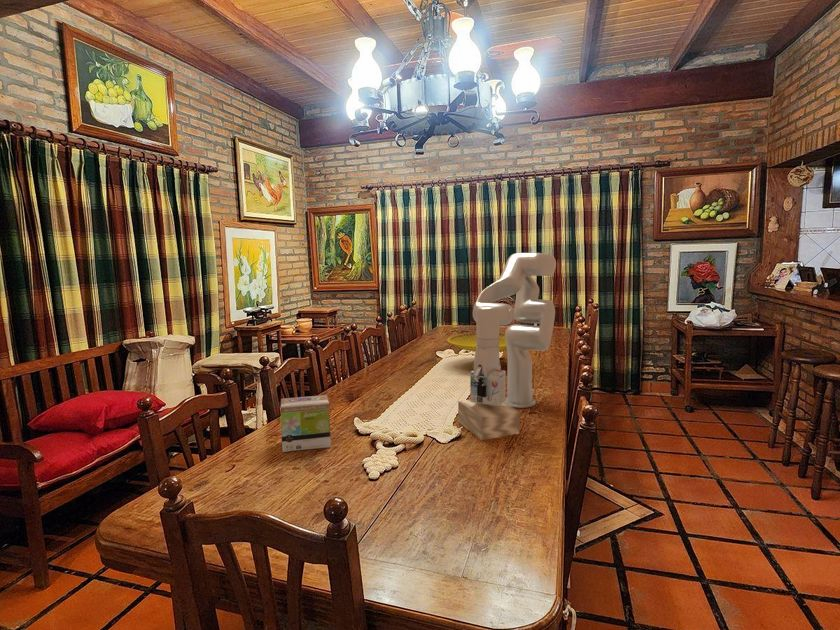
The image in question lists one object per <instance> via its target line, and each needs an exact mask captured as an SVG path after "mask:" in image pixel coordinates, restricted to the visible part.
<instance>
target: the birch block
mask: <svg viewBox="0 0 840 630" xmlns="http://www.w3.org/2000/svg"><path fill="white" fill-rule="evenodd" d="M457 403H458V404H457V407H458V411H457V413H458V414H457V415H458V417H457V418H458V421H457V422H458V423H459V424H460V425H461V426H463V427H464V428H466V429H467V430H468V431H469V432H470V433H471V434H473V435H474V436H475V437H477V438H478V439H479V440H481V441H485V440H490V439H496V438H503V437H509V435H510V436H514V434H516V435H520V411H519V410H517V409H516V408H515V407H511V406H509V405H507V404H506V403H504V402H503V403H502V404H501V405H500V406H495V405H489V404H482V403H476V402H470V399H466V400H464V399H463V400H458V401H457Z"/></svg>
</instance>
